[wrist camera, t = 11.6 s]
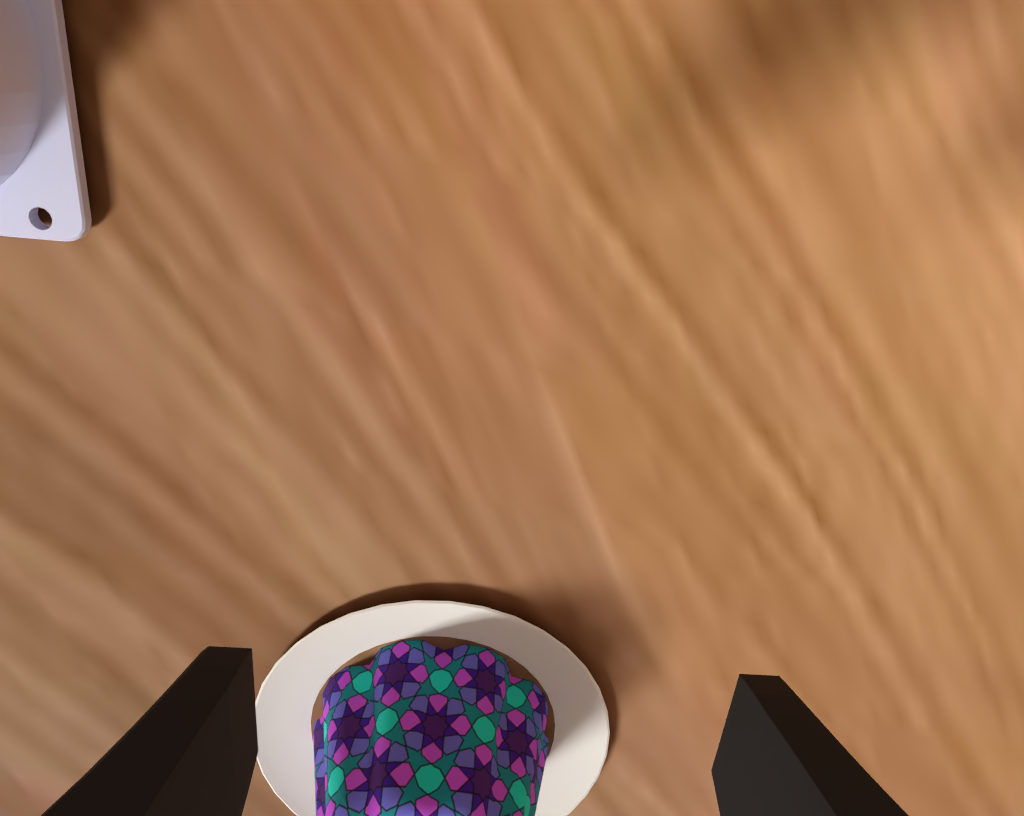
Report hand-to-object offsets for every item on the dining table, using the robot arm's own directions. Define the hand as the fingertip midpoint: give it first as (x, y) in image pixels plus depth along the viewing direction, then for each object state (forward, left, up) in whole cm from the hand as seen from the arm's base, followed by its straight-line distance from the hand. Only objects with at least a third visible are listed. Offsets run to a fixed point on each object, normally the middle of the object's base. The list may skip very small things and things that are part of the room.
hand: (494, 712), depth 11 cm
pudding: (-1, -12, -11) cm, 16 cm away
